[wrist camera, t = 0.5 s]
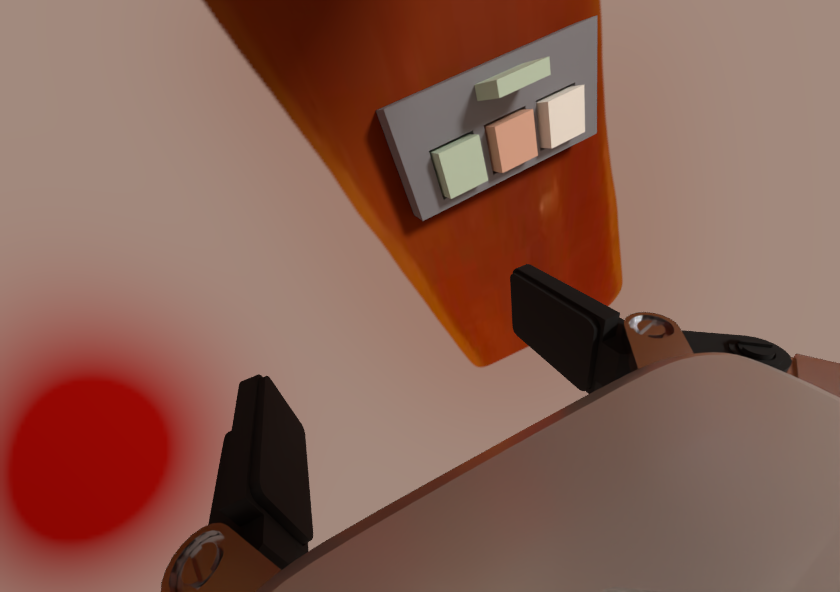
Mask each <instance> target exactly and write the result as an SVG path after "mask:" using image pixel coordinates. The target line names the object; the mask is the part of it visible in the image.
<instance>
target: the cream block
mask: <svg viewBox="0 0 840 592" xmlns="http://www.w3.org/2000/svg"><path fill="white" fill-rule="evenodd" d="M536 109H537V120H538V130H539V140H540V148H550V149H552V148H554V147H556V146H558V145H560V144H562V143H564V142H566V141H568V140H570V139H572V138H574V137H576V136H578V135H580V134H582V133H584V132H585V98H584V85H578V86H571V87H564V88H562V89H560V90H557V91H555V92H553V93H551V94H549V95H547V96H545V97H543V98H540V99H538V100H536Z"/></svg>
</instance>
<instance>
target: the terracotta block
mask: <svg viewBox="0 0 840 592" xmlns="http://www.w3.org/2000/svg"><path fill="white" fill-rule="evenodd" d="M484 129H485V134H486V139H487V145H488V150H489V155H490V160H491V166H492V171H495V172H499V173H504V172H506V171H508V170H510V169H512V168H514V167H516V166H518V165H520V164H522V163H524V162H526V161H528V160H530V159H532V158H534V157H536V156H538V151H537V142H536V132H535V122H534V112H533V109H524V110H515V111H513V112H511V113H509V114H507V115H504V116H502V117H500V118H498V119H496V120H494V121H492V122H490V123H487V124H485V125H484Z"/></svg>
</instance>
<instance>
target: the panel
mask: <svg viewBox="0 0 840 592" xmlns="http://www.w3.org/2000/svg"><path fill="white" fill-rule="evenodd" d="M578 85H584V98H585V132H584V133H582V134H580V135H578V136H576V137H574V138H572V139H570V140H568V141H566V142H564V143H562V144H560V145H558V146H556V147H554V148H552V149H550V148H540V140H539V130H538V120H537V109H536V100H538V99H540V98H543V97H545V96H547V95H549V94H551V93H553V92H555V91H557V90H560V89H562V88H564V87H571V86H578ZM524 109H533V112H534V122H535V132H536V142H537V151H538V156H536V157H534V158H532V159H530V160H528V161H526V162H524V163H522V164H520V165H518V166H516V167H514V168H512V169H510V170H508V171H506V172H504V173H499V172H495V171H492V166H491V160H490V155H489V150H488V145H487V139H486V134H485V129H484V125H485V124H487V123H490V122H492V121H494V120H496V119H498V118H500V117H502V116H504V115H507V114H509V113H511V112H513V111H515V110H524ZM376 113H377V116H378V118H379V121H380V124H381V126H382V129H383V132H384V135H385V137H386V140H387V143H388V146H389V148H390V151H391V154H392V156H393V159H394V162H395V165H396V167H397V170H398V173H399V175H400V178H401V181H402V184H403V186H404V189H405V192H406V194H407V197H408V200H409V203H410V205H411V208H412V211H413V213H414V215H415V216H416V217H418V218H419V219H421V220H422V221H424V220H426V219H428V218H430V217H432V216H434V215H436V214H438V213H440V212H442V211H444V210H446V209H448V208H450V207H452V206H454V205H456V204H458V203H460V202H462V201H464V200H466V199H468V198H470V197H472V196H474V195H475V194H477V193H479V192H481V191H483V190H485V189H487V188H489V187H491V186H493V185H495V184H497V183H499V182H501V181H503V180H505V179H507V178H509V177H511V176H513V175H515V174H517V173H519V172H521V171H523V170H525V169H527V168H529V167H531V166H533V165H535V164H537V163H539V162H541V161H543V160H545V159H547V158H549V157H551V156H553V155H555V154H557V153H559V152H561V151H562V150H564V149H566V148H568V147H570V146H572V145H574V144H576V143H578V142H580V141H582V140H584V139H586V138H588V137H590V136H592V135H594V134H596V133H597V16H594V17H591V18H588V19H585V20H583V21H580V22H577V23H574V24H572V25H570V26H567V27H565V28H563V29H561V30H558V31H556V32H554V33H551V34H549V35H547V36H545V37H542V38H540V39H538V40H535V41H533V42H531V43H529V44H526V45H524V46H522V47H520V48H517V49H515V50H513V51H510V52H508V53H506V54H504V55H501V56H499V57H497V58H494V59H492V60H490V61H488V62H485V63H483V64H481V65H478V66H476V67H474V68H472V69H469V70H467V71H465V72H462V73H460V74H458V75H456V76H453V77H451V78H449V79H447V80H444V81H442V82H440V83H437V84H435V85H433V86H431V87H428V88H426V89H424V90H421V91H419V92H417V93H415V94H412V95H410V96H408V97H405V98H403V99H401V100H399V101H396V102H394V103H392V104H389V105H387V106H385V107H383V108H380V109H378V110H376ZM464 134H476V135H479V137H480V142H481V147H482V152H483V157H484V162H485V167H486V171H487V176H488V181H486V182H484V183H482V184H480V185H478V186H476V187H474V188H472V189H470V190H468V191H466V192H464V193H462V194H460V195H458V196H456V197H454V198H452V199H450V198H447V197H445V196H443V195H442V193H441V190H440V187H439V183H438V180H437V177H436V173H435V170H434V167H433V163H432V160H431V156H430V153H429V151H430V150H432V149H434V148H437V147H439V146H441V145H443V144H445V143H447V142H449V141H451V140H453V139H456V138H458V137H460V136H462V135H464Z"/></svg>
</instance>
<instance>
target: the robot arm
mask: <svg viewBox="0 0 840 592" xmlns="http://www.w3.org/2000/svg"><path fill="white" fill-rule="evenodd" d="M510 282H511V302H512V323H513V330H514V332H515V334H516V335H517V336H518V337H519V338H520V339H522V340H523V341H524V342H525V343H526V344H527V345H529V346H530V347H531V348H532V349H533V350H534V351H536V352H537V353H538V354H539V355H540V356H541V357H542V358H544V359H545V360H546V361H547V362H548V363H549V364H550V365H552V366H553V367H554V368H555V369H556V370H557V371H558V372H560V373H561V374H562V375H563V376H564V377H566V378H567V379H568V380H569V381H570V382H571V383H572V384H573V385H575V386H576V387H577V388H578V389H579V390H581V391H586V392H587V393H589V395H587V396H585V397H583V398H581V399H580V400H578V401H576V402H574V403H572V404H570V405H568V406H566V407H565V408H563V409H561V410H559V411H557V412H556V413H554V414H552V415H550V416H548V417H546V418H544V419H543V420H541V421H539V422H537V423H535V424H533V425H531V426H530V427H528V428H526V429H524V430H522V431H521V432H519V433H517V434H515V435H513V436H511V437H510V438H508V439H506V440H504V441H502V442H501V443H499V444H497V445H495V446H493V447H491V448H490V449H488V450H486V451H484V452H483V453H481V454H479V455H477V456H475V457H473V458H472V459H470V460H468V461H466V462H464V463H462V464H461V465H459V466H457V467H455V468H453V469H452V470H450V471H448V472H447V473H445V474H443V475H441V476H439V477H437V478H436V479H434V480H432V481H430V482H428V483H427V484H425V485H423V486H421V487H419V488H418V489H416V490H414V491H412V492H411V493H409V494H407V495H405V496H403V497H401V498H400V499H398V500H396V501H394V502H392V503H391V504H389V505H387V506H385V507H384V508H382V509H380V510H378V511H377V512H375V513H373V514H371V515H369V516H368V517H366V518H365V519H363V520H361V521H359V522H357V523H356V524H354V525H352V526H350V527H349V528H347V529H345V530H344V531H342V532H340V533H339V534H337V535H335V536H333V537H331V538H330V539H328V540H326V541H325V542H323V543H321V544H320V545H318V546H317V547H315V548H314V549H312V550H310V551H309V552H308V542H309V541H311V540H312V538H313V526H312V514H311V501H310V489H309V477H308V465H307V454H306V453H307V452H306V440H305V432H304V429H303V426H302V424H301V423H300V421H299V420H298V418H297V417H296V415H295V414H294V412H293V411H292V410H291V408H290V407H289V405H288V404H287V402H286V401H285V399H284V398H283V396H282V395H281V393H280V392H279V391H278V389H277V388H276V386H275V385H274V383H273V382H272V380H271V379H270V378H269V377H268V376H265V377H262V376H261V375H256V376H254V377H251V378H249V379H246V380H244V381H241V382H240V384H239V389H238V395H237V401H236V408H235V413H234V420H233V426H232V431H230V432H228V433H227V434H226V435H225V438H224V442H223V448H222V453H221V458H220V464H219V469H218V475H217V480H216V486H215V492H214V497H213V503H212V508H211V514H210V519H209V524H208V526H205V527H203V528H201V529H199V530H198V531H197V532H195V533H194V534H192V535H191V536H190V537H189V538H188V539H187V540H186V541H185V542H184V543H183V544H182V545H181V546H180V548H179V549H178V550H177V552H176V553H175V554H174V556H173V557H172V559H171V561H170V563H169V564H168V566H167V568H166V570H165V573H164V576H163V579H162V582H161V592H840V363H836V362H831V361H827V360H823V359H818V358H814V357H809V356H805V355H800V354H795V356H794V358H793V357H790V355H789V354H788V353H787V352H786V351H784V350H783V349H782V348H780V347H779V346H777V345H775V344H773V343H771V342H768V341H766V340H762V339H759V338H756V337H749V336H742V335H729V334H718V333H705V332H693V331H682V330H681V329H680V327H679V326H678V324H677V323H676V322H674V321H673V320H672V319H670V318H668V317H665V316H663V315H660V314H656V313H650V312H638V313H634V314H630V315H629V316H627V317H626V318H625V320H623V319H621V318H619V315H620V313H619V312H617V311H615V310H613V309H611V308H610V307H608V306H606V305H604V304H602V303H600V302H599V301H597V300H595V299H593V298H591V297H589V296H587V295H586V294H584V293H582V292H580V291H578V290H576V289H574V288H573V287H571V286H569V285H567V284H565V283H563V282H561V281H560V280H558V279H556V278H554V277H552V276H550V275H548V274H547V273H545V272H543V271H541V270H539V269H537V268H535V267H534V266H532V265H530V264H526V265H524V266H521V267H519V268H516V269H515V270H514V271H513V274H512V275H511V276H510Z"/></svg>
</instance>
